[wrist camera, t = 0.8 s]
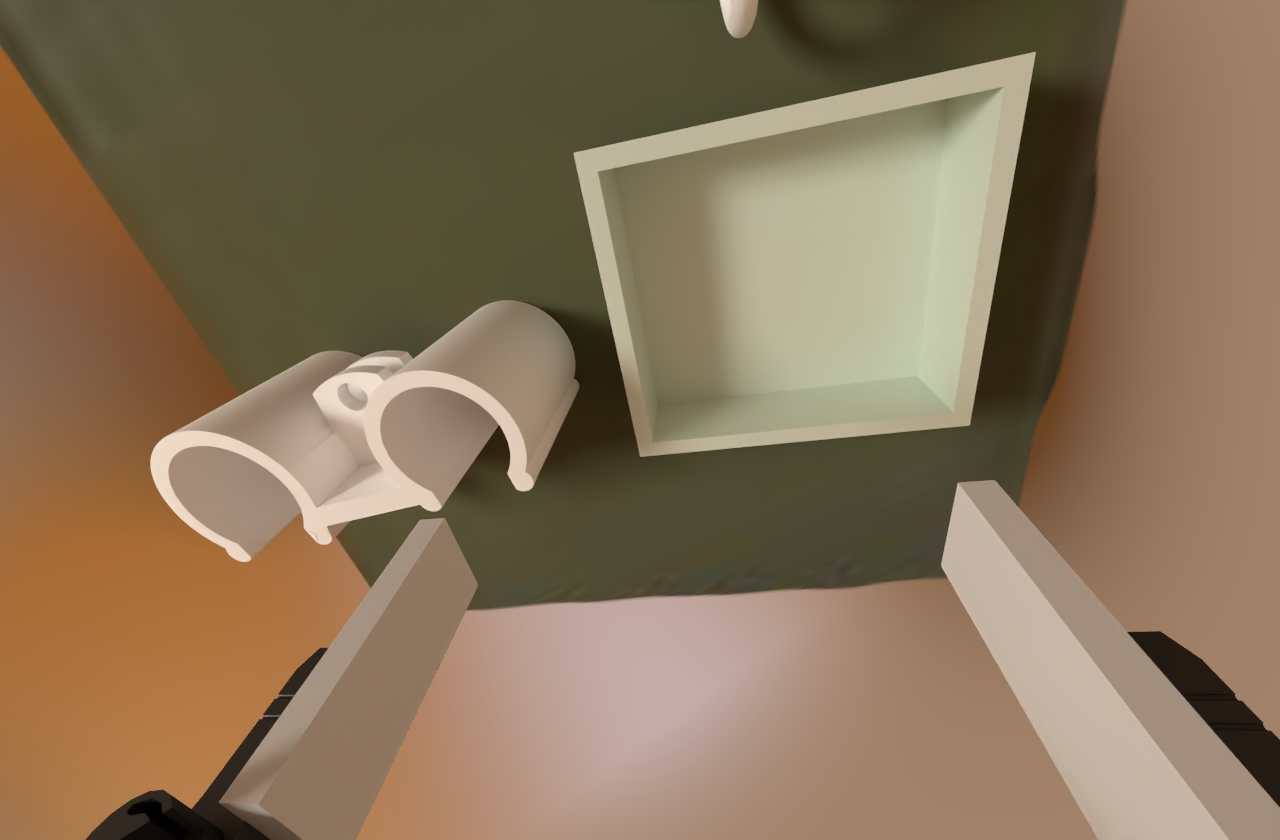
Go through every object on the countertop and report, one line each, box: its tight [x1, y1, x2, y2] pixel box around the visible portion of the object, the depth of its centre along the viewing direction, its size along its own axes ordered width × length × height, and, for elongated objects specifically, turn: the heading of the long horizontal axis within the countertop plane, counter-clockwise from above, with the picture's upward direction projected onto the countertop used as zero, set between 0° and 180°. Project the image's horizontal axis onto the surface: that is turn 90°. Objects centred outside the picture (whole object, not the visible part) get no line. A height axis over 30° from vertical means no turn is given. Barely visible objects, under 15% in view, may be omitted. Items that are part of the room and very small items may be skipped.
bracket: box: [151, 301, 579, 562], centre depth 32 cm, size 25×10×12 cm, turn 109°
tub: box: [574, 52, 1036, 457], centre depth 28 cm, size 18×20×6 cm
